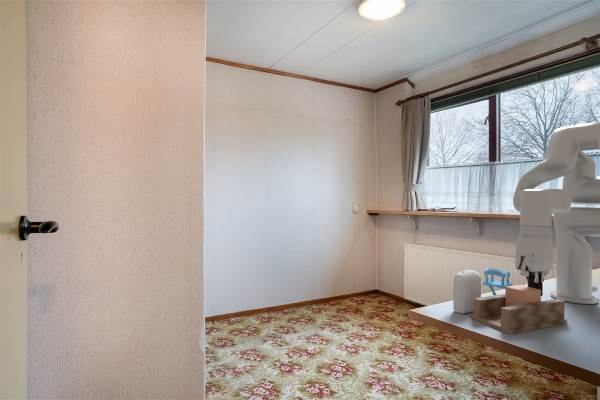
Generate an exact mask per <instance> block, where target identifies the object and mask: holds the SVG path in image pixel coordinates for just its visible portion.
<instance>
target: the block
mask: <svg viewBox="0 0 600 400" xmlns="http://www.w3.org/2000/svg"><path fill="white" fill-rule="evenodd" d="M504 290H505V291H504V292H505V293H504V294H505V307H509V306H515V305H521V304H528V303H534V302H541V301H542V296H541V290H539V289H535V288H531V287H528V285H522V284H515V285H513V284H512V286H505V289H504Z"/></svg>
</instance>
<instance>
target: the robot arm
mask: <svg viewBox="0 0 600 400" xmlns="http://www.w3.org/2000/svg"><path fill="white" fill-rule="evenodd" d="M596 150H600V121H597V122H589V123H588V122H587V123H581V124H576V125H575V124H574V125H568V126H562V127H560V128H557V129H555V130H554V131H553V132H552V133H551V135H550V138H549V141H548V143H547V146H546V150H545V152H544V155H543V157H542V158H543V159H542V161H541V162H540V163H538V164H536V165H535V166H533V167H532V168H531V169H529V170H528V171H527V172H526V173H525V174H523V175H522V177H520V179H519V180H518V183H517V185H516V188H515V191H514V193H513V197H512V204H513V207H514V209H515V210H516V212H519V236H518V237H517V241H516V242H517V243H516V246H515V247H516V249H515V260H514V261H515V262H514V264H515V266H514V267H515V269H516V270H518V271H520V273H519V274H520V276H523V277H525V280H526V281H527V287H531V288H535V289H539V290H541V297H543V295H544V292H543V290H544V289H543V288H544V285H543V284H544V281H545V278H546V276H547V275H549V274H550V273H551V272H550V271H551V270H552V269H554V247H553V241H552V240H553V239H552V238H553V235H552V233H553V232H552V231H553V228H552V227H553V226H554V231H555V232H554V233H555V239H556V242H555V244H556V253H555V254H556V259H555V260H556V261H555V262H556V265H555V266H556V269H555V270H556V273H555V274H556V275H555V277H556V278H555V280H556V281H555V288H556V289H555V290H552V291H550V296H551V297H552V298H553V299H559V300H563V301H565V302H568V303H573V304H579V305H580V304H582V305H583V304H584V305H595V304H598V303H599V299H598V298H597V297H596V296H593V293H596V292H598V290H599V289H598V287H596V286H595V285H593V249H592V247H591V245H590V243H589V242H588V241H587V239H585V237H599V238H600V207H587V206H586V207H585V206H584V207H583V206H572V205H593V206H594V205H595V206H596V205H597V206H599V205H600V176H599V175H598V176H596V168H597V164H596V162H595V160H594V159H593V158H592V157H591V156H589V155H588V154H587V153H586V152H585V151H596ZM562 177H563V178H562ZM559 178H562V188H561V189H560V188H537V187H538V186H540V185H542V184H545V183H547V182H550V181H554V180H557V179H559ZM552 218H553V219H552ZM552 225H553V226H552Z"/></svg>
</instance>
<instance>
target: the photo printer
mask: <svg viewBox="0 0 600 400" xmlns="http://www.w3.org/2000/svg"><path fill="white" fill-rule="evenodd" d="M452 290H453V291H452V292H453V299H452V300H453V301H452V302H453V306H452V307H453V311H454V312H456V313H459V314H468V313H471V312H473V298H480V297H482V276H481V275H480V272H478V271H476V270H475V269H474V270H473V269H472V270H471V269H464V270H462V271H459V272H457V273H456V274H455V275H454V276H453V289H452Z"/></svg>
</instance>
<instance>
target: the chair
mask: <svg viewBox="0 0 600 400" xmlns="http://www.w3.org/2000/svg"><path fill="white" fill-rule="evenodd" d="M483 274H484V276H485V280H484V281H483V282H482V285H483V286H487V287H488V288H489V289H490V291H491V293H492V296H495V295H497V293H496V291H495V289H494V287H495V288H499V289H504V290H505V286H513V283H512V282H510V278H511V277H510V276H511V272H510V271H509V270H506V269H504V270H500V269H498V268H491V267H487V268H485V269H483ZM489 275H490V278H489ZM494 276H498V277H500V278H501V280H500V281H499V280H495V278H494ZM505 280H506V281H505Z"/></svg>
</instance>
